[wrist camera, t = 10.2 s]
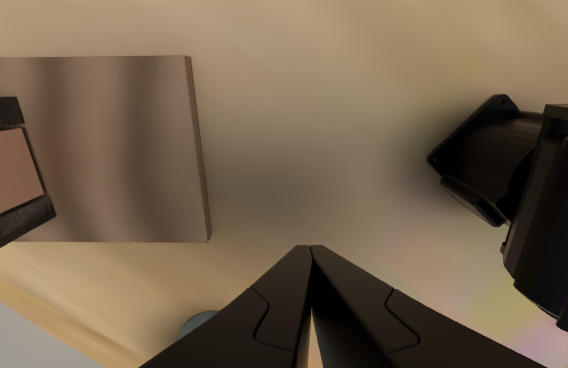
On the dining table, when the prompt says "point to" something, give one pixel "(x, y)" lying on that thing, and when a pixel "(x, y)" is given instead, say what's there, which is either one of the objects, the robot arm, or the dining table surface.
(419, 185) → the dining table surface
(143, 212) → the walnut board
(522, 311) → the dining table surface
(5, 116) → the grey block
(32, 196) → the terracotta peg
